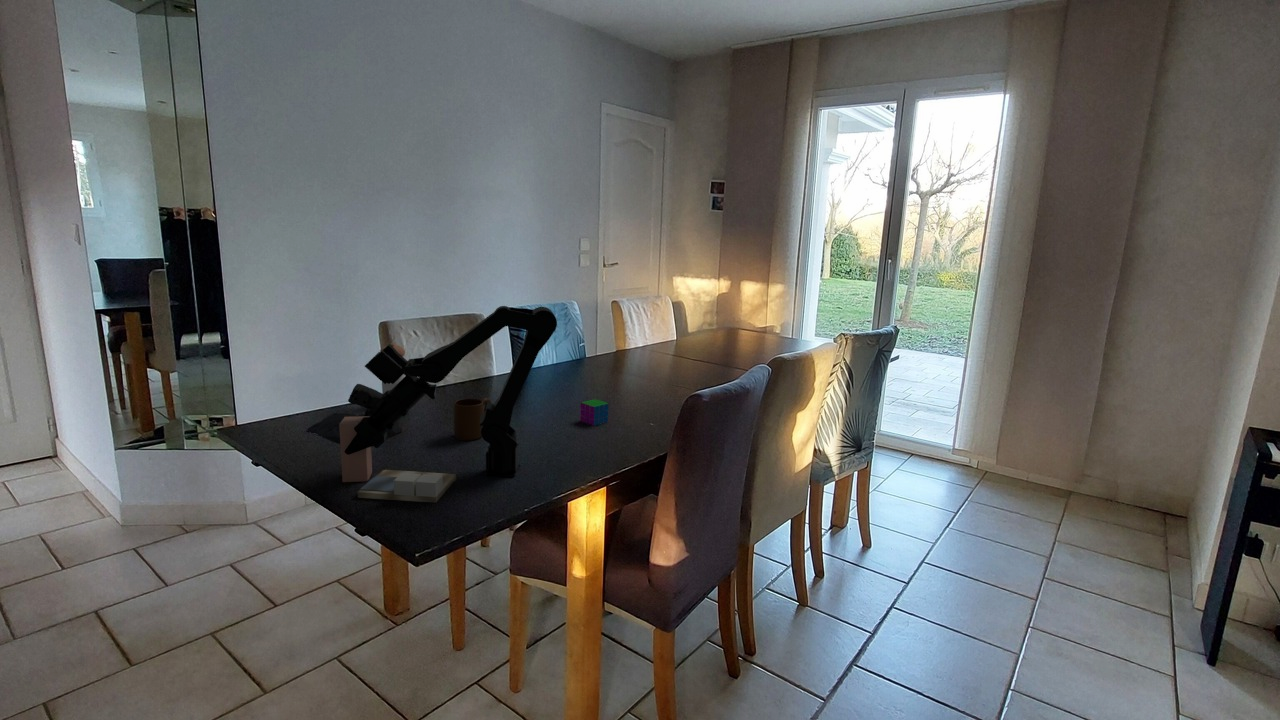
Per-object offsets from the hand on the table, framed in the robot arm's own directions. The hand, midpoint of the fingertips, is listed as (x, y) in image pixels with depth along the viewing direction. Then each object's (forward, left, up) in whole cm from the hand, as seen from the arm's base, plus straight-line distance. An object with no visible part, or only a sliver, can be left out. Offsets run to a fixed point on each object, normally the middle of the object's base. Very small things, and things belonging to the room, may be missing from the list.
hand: (349, 448), depth 134 cm
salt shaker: (+14, -53, -7) cm, 56 cm away
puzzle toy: (-47, -49, -7) cm, 69 cm away
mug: (-17, -32, -7) cm, 37 cm away
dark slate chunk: (+14, -29, -7) cm, 33 cm away
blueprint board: (-14, +4, -7) cm, 16 cm away
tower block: (-1, 0, -7) cm, 7 cm away
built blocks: (-18, +8, -5) cm, 20 cm away
